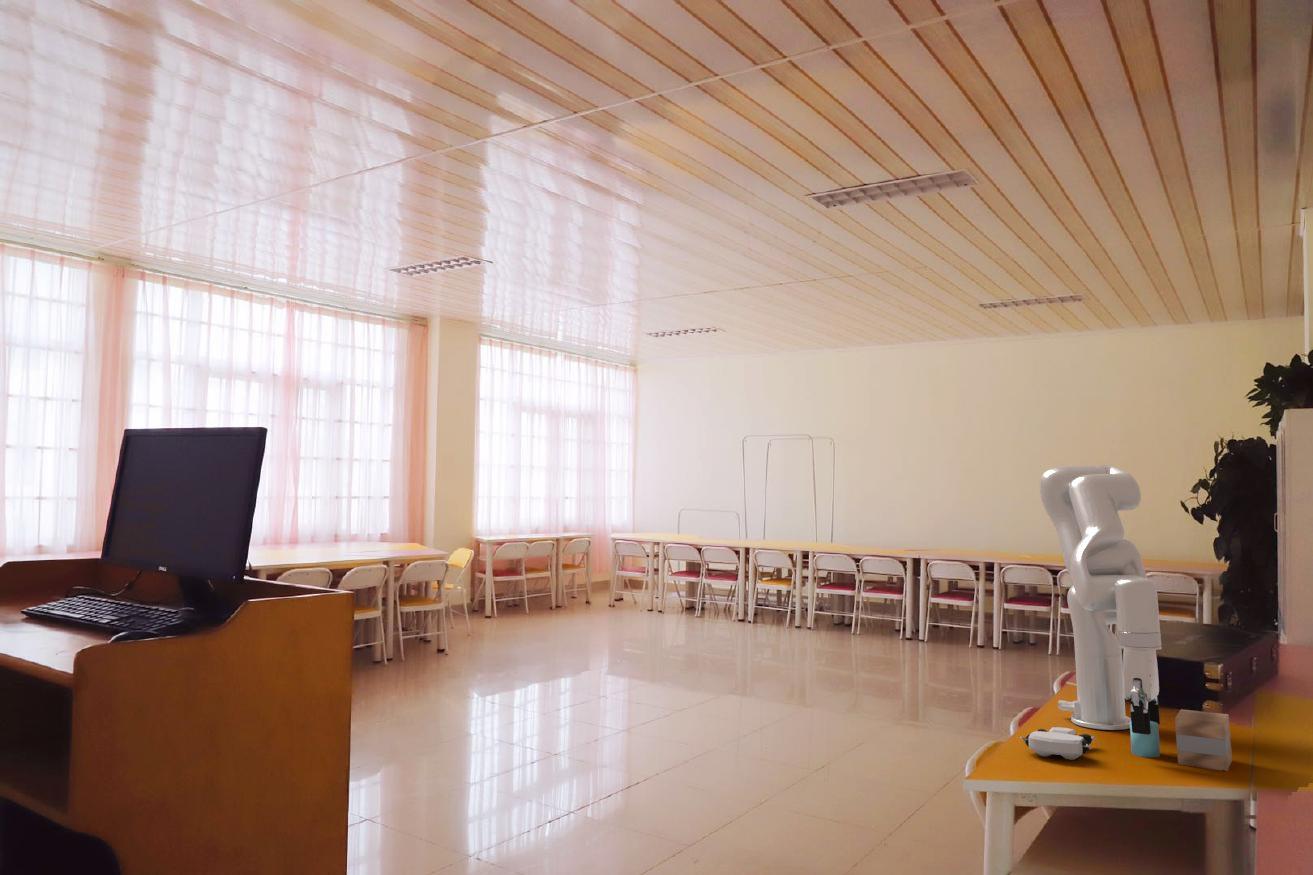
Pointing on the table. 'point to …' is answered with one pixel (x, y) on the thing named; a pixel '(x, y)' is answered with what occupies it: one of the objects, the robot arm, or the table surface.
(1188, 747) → the slab middle
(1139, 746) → the teal open box
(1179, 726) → the slab top
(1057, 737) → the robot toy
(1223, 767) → the slab bottom
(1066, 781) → the table surface
